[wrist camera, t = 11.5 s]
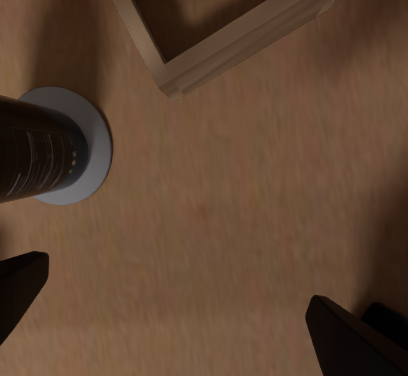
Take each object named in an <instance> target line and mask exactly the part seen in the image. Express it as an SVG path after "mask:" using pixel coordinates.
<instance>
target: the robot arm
mask: <svg viewBox="0 0 408 376" xmlns="http://www.w3.org/2000/svg"><path fill="white" fill-rule="evenodd" d="M48 274H49V255H48V254H47V253H45V252H38V251H32V252H29V253H26V254H22V255H19V256H16V257H12V258H9V259H6V260H3V261H0V346H1V344H2V343H3V342H4V341H5V339H6V338H7V337H8V336H9V335H10V333H11V332H12V331H13V329H14V328H15V327H16V325H17V324H18V323H19V321H20V320H21V318H22V317H23V315H24V314H25V312H26V311H27V309H28V308H29V307H30V305H31V304H32V302H33V301H34V299H35V298H36V296H37V295H38V293H39V292H40V290H41V289H42V288H43V286H44V285H45V283H46V281H47V279H48ZM379 308H380V310H378V309H379ZM377 310H378V311H377ZM305 319H306V323H307V327H308V330H309V333H310V336H311V339H312V343H313V346H314V349H315V352H316V355H317V359H318V362H319V365H320V368H321V370H322V373H323V376H408V317H406V316H404V315H402V314H400V313H399V312H397V311H395V310H393V309H391V308H389V307H387V306H385V305H383V304H381V303H379V302H376V303H373V304H372V305H371V307H370V308H369V309H368V311H367V312H366V313H365V315H364V316H363V317H362V319H361V320H360V319H358V318H357V317H355V316H354V315H352V314H351V313H350V312H348V311H347V310H345V309H344V308H342V307H341V306H339V305H338V304H336V303H335V302H333V301H332V300H330V299H329V298H327V297H325V296H320V295H314V296H313V297H312V298H311V301H310V303H309V306H308V309H307V312H306V316H305Z"/></svg>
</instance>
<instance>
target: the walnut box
mask: <svg viewBox="0 0 408 376" xmlns="http://www.w3.org/2000/svg"><path fill="white" fill-rule="evenodd" d="M112 1H113V2H114V4H115V6H116V8H117V10H118V12H119V14H120V16H121V18H122V20H123V21H124V23H125V25H126V27H127V29H128V31H129V33H130V35H131V37H132V39H133V40H134V42H135V44H136V46H137V48H138V50H139V52H140V54H141V56H142V58H143V59H144V61H145V63H146V65H147V67H148V69H149V71H150V73H151V75H152V77H153V79H154V80H155V82H156V84H157V86H158V88H159V89H160V90H161V91H162V92H163V93H164V94H165V95H166V96H168V97H169V98H170V99H171V100H172V101H173V102H174V101H176V100H178V99H179V98H181V97H183V96H184V95H186V94H188V93H189V92H191V91H193V90H194V89H196V88H198V87H199V86H201V85H203V84H204V83H206V82H208V81H209V80H211V79H213V78H215V77H216V76H218V75H220V74H221V73H223V72H225V71H226V70H228V69H230V68H231V67H233V66H235V65H236V64H238V63H240V62H241V61H243V60H245V59H246V58H248V57H250V56H252V55H253V54H255V53H257V52H258V51H260V50H262V49H263V48H265V47H267V46H268V45H270V44H272V43H273V42H275V41H277V40H278V39H280V38H282V37H283V36H285V35H287V34H289V33H290V32H292V31H294V30H295V29H297V28H299V27H300V26H302V25H304V24H305V23H307V22H309V21H310V20H312V19H314V18H315V17H317V16H319V15H320V14H322V13H324V12H326V11H327V10H329V9H330V8H331V6H332V5H333V3H334V2H335V0H266V1H264V2H263V3H261V4H260V5H258V6H257V7H255V8H253V9H252V10H250V11H249V12H247V13H245V14H244V15H242V16H241V17H239V18H237V19H236V20H234V21H233V22H231V23H230V24H228V25H226V26H225V27H223V28H222V29H220V30H218V31H217V32H215V33H214V34H212V35H210V36H209V37H207V38H206V39H204V40H203V41H201V42H199V43H198V44H196V45H195V46H193V47H191V48H190V49H188V50H187V51H185V52H183V53H182V54H180V55H179V56H177V57H176V58H174V59H172V60H171V61H169V62H168V63H167V62H166V60H165V58H164V56H163V54H162V52H161V50H160V48H159V46H158V44H157V42H156V41H155V39H154V37H153V35H152V33H151V31H150V29H149V27H148V25H147V23H146V21H145V19H144V17H143V15H142V13H141V12H140V10H139V8H138V6H137V4H136V2H135V0H112Z"/></svg>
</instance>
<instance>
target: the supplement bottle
mask: <svg viewBox="0 0 408 376" xmlns="http://www.w3.org/2000/svg"><path fill="white" fill-rule="evenodd" d="M87 162H88V145H87V141H86V138H85V136H84V134H83V132H82V130H81V128H80V127H79V126H78V124H77V123H76V122H75V121H74V120H73V119H71V118H70V117H69V116H67V115H66V114H64V113H62V112H60V111H57V110H54V109H51V108H47V107H44V106H40V105H36V104H32V103H29V102H25V101H21V100H17V99H13V98H9V97H6V96H2V95H0V203H5V202H9V201H14V200H18V199H23V198H27V197H32V196H36V195H41V194H45V193H49V192H54V191H58V190H62V189H65V188H67V187H69V186H71V185H73V184H74V183H75V182H76V181H78V180H79V178H80V177H81V176H82V174H83V173H84V171H85V169H86V166H87Z"/></svg>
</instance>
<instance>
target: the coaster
mask: <svg viewBox="0 0 408 376" xmlns="http://www.w3.org/2000/svg"><path fill="white" fill-rule="evenodd" d="M18 100H21V101H25V102H29V103H32V104H36V105H40V106H44V107H47V108H51V109H54V110H57V111H60V112H62V113H64V114H66V115H67V116H69V117H70V118H71V119H73V120H74V121H75V122H76V123H77V124H78V126H79V127H80V128H81V130H82V132H83V134H84V136H85V138H86V141H87V145H88V162H87V166H86V169H85V171H84V173H83V174H82V176H81V177H80V178H79V180H78V181H76V182H75V183H74V184H73V185H71V186H69V187H67V188H65V189H62V190H58V191H54V192H49V193H45V194H41V195H36V196H32V197H34V198H36V199H38V200H40V201H42V202H45V203H49V204H54V205H67V204H72V203H76V202H79V201H82V200H84V199H86V198H88V197H89V196H91V195H92V194H93V193H95V192H96V191H97V190H98V189H99V188H100V186H101V185H102V184H103V182H104V181H105V179H106V177H107V175H108V172H109V169H110V166H111V161H112V142H111V137H110V133H109V130H108V127H107V125H106V123H105V121H104V119H103V117H102V116H101V114H100V113H99V111H98V110H97V109H96V108H95V107H94V106H93V105H92V104H91V103H90V102H89V101H88V100H87V99H85V98H84V97H82V96H81V95H79V94H77V93H75V92H72V91H70V90H68V89H64V88H60V87H41V88H37V89H34V90H31V91H29V92H27V93H25V94H24V95H22V96H21V97H20V98H19V99H18Z"/></svg>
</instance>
